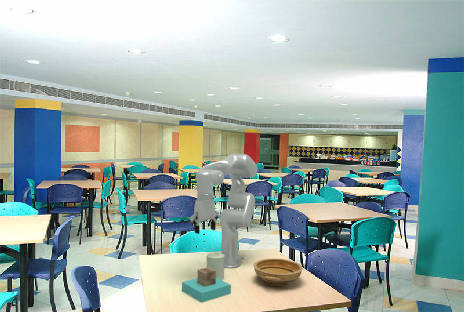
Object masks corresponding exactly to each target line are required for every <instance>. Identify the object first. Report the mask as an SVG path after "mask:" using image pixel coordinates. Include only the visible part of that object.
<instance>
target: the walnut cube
mask: <svg viewBox="0 0 464 312" xmlns="http://www.w3.org/2000/svg"><path fill="white" fill-rule="evenodd" d="M196 274H197V276H196V278H197V283H199V284H201V285H202V286H204V287H206V286H210V285H213V284H216V271H215V270H213V269H211V268H209V267H207V266H206V267H203V268H200V269H199V268H198V269H197V273H196Z"/></svg>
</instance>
